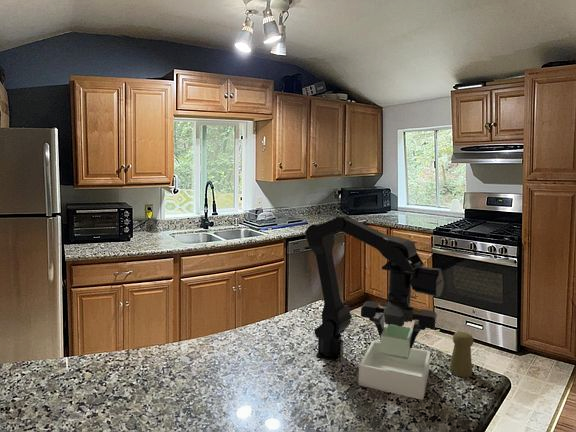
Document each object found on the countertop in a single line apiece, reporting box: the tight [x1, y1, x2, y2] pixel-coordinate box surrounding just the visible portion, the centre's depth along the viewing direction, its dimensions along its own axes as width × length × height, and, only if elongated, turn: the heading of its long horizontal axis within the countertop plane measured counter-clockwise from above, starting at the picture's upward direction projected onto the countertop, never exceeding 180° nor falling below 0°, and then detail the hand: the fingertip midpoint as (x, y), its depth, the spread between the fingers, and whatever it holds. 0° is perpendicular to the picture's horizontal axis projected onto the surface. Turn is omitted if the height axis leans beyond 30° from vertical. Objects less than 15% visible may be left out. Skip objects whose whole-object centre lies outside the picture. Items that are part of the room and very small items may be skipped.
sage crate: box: [379, 324, 413, 359], centre depth 111 cm, size 7×9×5 cm
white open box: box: [357, 340, 431, 401], centre depth 112 cm, size 16×16×6 cm
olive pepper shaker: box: [448, 331, 474, 378], centre depth 115 cm, size 6×6×11 cm
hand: (396, 345), depth 111 cm, fingers closed on sage crate, 7 cm apart
